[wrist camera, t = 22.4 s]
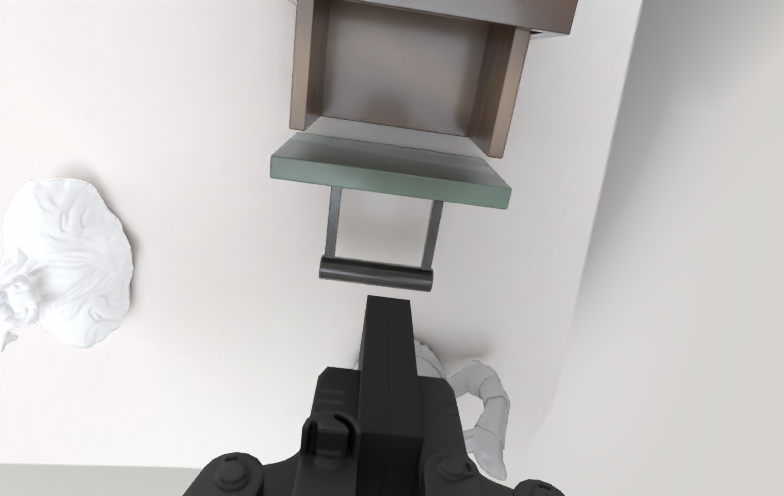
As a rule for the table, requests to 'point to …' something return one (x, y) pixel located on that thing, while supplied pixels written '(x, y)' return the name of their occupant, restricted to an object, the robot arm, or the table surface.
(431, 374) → the mug
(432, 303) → the table surface
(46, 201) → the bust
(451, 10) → the cabinet
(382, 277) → the drawer
